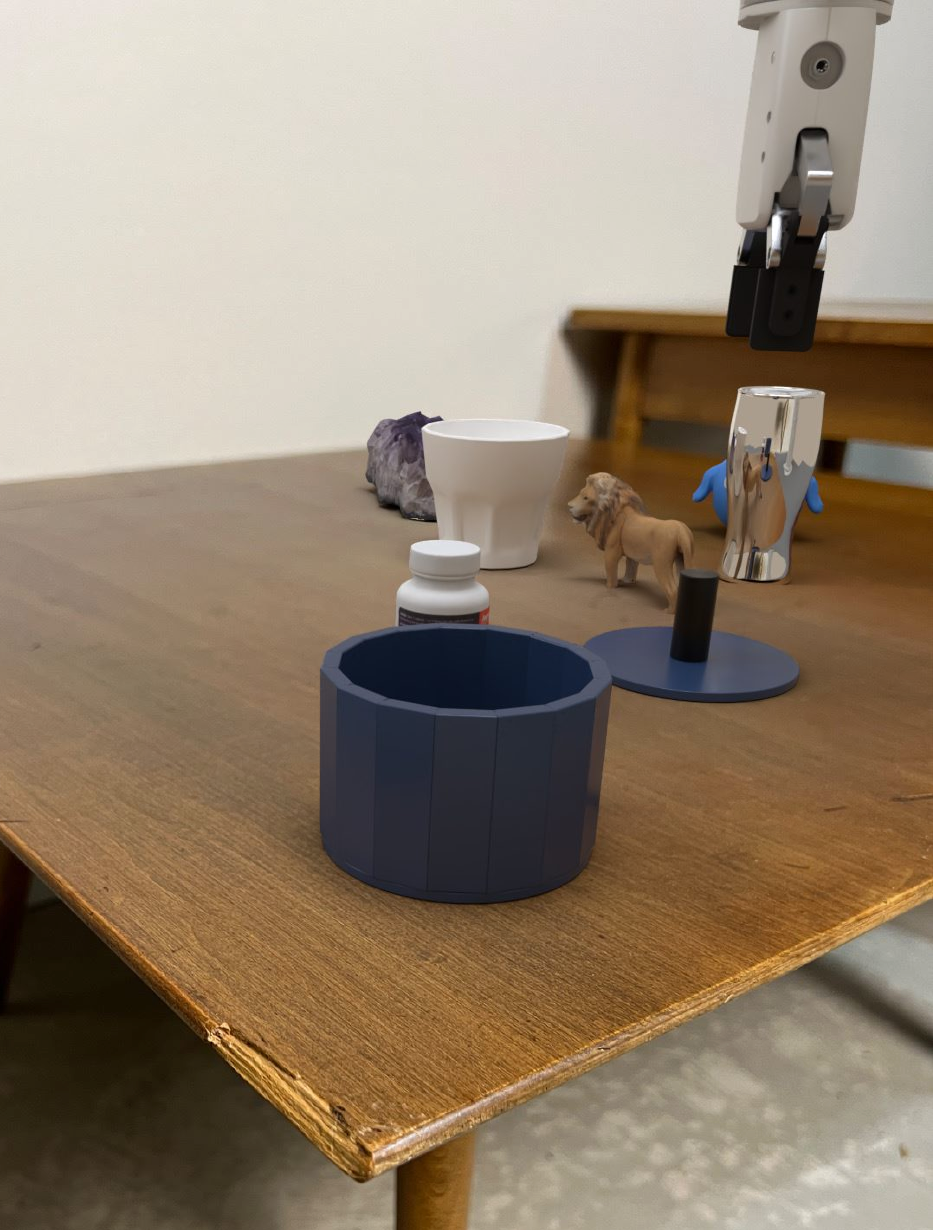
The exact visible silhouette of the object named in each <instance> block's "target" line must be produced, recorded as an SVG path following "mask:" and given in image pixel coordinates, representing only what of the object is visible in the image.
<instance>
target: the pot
mask: <svg viewBox="0 0 933 1230" xmlns="http://www.w3.org/2000/svg"><path fill="white" fill-rule="evenodd" d="M612 689H613V684H612V677H611V674H610V672H609V669H608V666H607V663H606V661H605V660H603V659H601V658H600V657H598V656H597V655H595V654H593V653H592V652H590V651H589V650H587V649H585V648H584V647H583V645H581V644H577V643H575V642H571V641H568V640H565V639H562V638H558V637H556V636H552V635H548V634H546V633H542V632H538V631H535V630H529V629H523V628H516V627H508V626H502V625H495V624H488V625H485V624H456V623H431V624H419V625H407V626H395V625H394V626H388V627H384V628H381V629H376V630H371V631H368V632H363V633H360V634H356V635H352V636H349V637H348V638H346V639H344V640H342V641H341V642H338V643H337V644H336V645H333V646H332V647H331V648H329V649H327V650H326V651H325V653H324V655H323V658H322V662H321V666H320V668H319V834H320V835H321V836H320V837H321V842H322V846H323V848H324V850H325V852H326V853H327V855H328V856H329V858H330V859H331V861H333V863H335V864H336V865H337V866H338V867H339V868H340V869H342V870H343V871H344V872H346V873H347V874H349V875H350V876H351V877H354V878H355V879H357V880H359V881H361V882H363V883H365V884H367V885H370V886H371V887H372V886H373V887H375V888H378V889H380V890H382V891H386V892H388V893H389V892H390V893H391V894H392V893H393V894H396V895H399V896H404V897H408V898H411V899H412V898H413V899H416V900H417V899H418V900H423V901H424V900H425V901H430V902H438V903H439V902H440V903H451V904H490V903H501V902H510V901H515V900H516V901H517V900H522V899H526V898H531V897H534V896H538V895H542V894H545V893H547V892H549V891H552V890H554V889H557V888H559V887H561V886H564V885H565V884H567V883H569V882H570V881H572V880H573V879H574V878H576V877H577V876H578V875H579V874H581V872H582V871H583V870H584V869H585V868H586V867H587V865H588V863H589V861H590V859H591V856H592V851H593V848H594V846H596V839H597V829H598V819H599V809H600V800H601V791H602V783H603V773H604V763H605V754H606V746H607V745H606V744H607V736H608V726H609V716H610V706H611V699H612Z"/></svg>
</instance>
